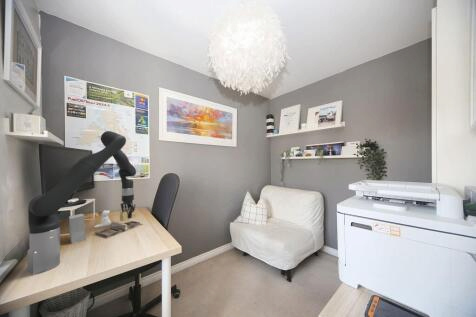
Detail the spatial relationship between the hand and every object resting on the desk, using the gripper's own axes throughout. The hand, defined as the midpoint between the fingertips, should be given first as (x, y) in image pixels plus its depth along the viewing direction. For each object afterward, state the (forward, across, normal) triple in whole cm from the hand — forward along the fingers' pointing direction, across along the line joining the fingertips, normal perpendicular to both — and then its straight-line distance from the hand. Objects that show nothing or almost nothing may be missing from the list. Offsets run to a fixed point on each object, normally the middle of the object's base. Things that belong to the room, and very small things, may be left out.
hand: (128, 217), depth 123 cm
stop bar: (+1, 0, 0) cm, 1 cm away
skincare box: (+7, +7, +26) cm, 28 cm away
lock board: (+7, 0, +6) cm, 9 cm away
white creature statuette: (+7, +19, +5) cm, 21 cm away
